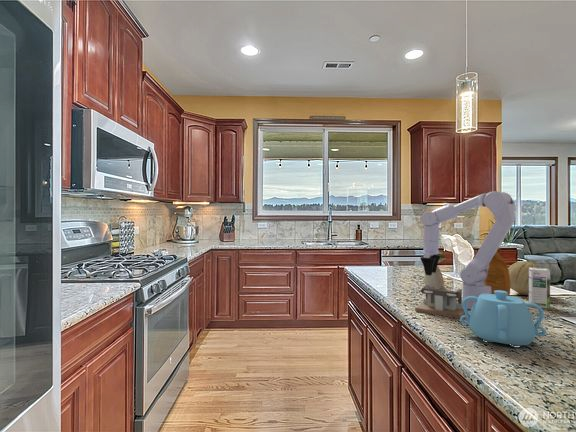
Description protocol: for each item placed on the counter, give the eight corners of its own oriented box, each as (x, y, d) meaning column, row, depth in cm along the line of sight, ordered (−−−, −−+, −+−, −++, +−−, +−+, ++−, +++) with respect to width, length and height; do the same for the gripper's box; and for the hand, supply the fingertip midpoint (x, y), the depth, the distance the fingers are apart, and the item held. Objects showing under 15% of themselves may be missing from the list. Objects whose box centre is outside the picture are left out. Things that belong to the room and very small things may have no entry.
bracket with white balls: (458, 308, 111) (458, 293, 111) (421, 302, 118) (421, 288, 118) (461, 303, 118) (461, 289, 118) (426, 298, 125) (426, 284, 125)
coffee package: (510, 299, 135) (510, 246, 135) (510, 306, 125) (511, 248, 125) (482, 295, 141) (482, 244, 141) (480, 302, 130) (480, 247, 130)
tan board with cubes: (461, 318, 109) (462, 300, 109) (415, 310, 118) (415, 293, 118) (466, 310, 119) (467, 293, 119) (423, 303, 128) (423, 287, 128)
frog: (441, 296, 139) (441, 253, 139) (414, 290, 150) (414, 250, 150) (456, 293, 146) (456, 251, 146) (429, 287, 156) (430, 249, 156)
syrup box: (531, 306, 124) (531, 268, 124) (528, 303, 129) (528, 266, 129) (550, 309, 122) (550, 270, 121) (546, 305, 127) (546, 267, 127)
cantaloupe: (498, 292, 147) (498, 259, 147) (518, 289, 153) (518, 257, 153) (534, 300, 133) (534, 263, 133) (554, 297, 140) (555, 261, 140)
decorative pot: (504, 328, 101) (504, 284, 101) (553, 349, 85) (553, 297, 85) (455, 330, 99) (455, 285, 99) (496, 352, 83) (496, 299, 83)
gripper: (425, 239, 143) (424, 270, 143) (416, 241, 131) (415, 275, 132) (442, 240, 139) (442, 272, 139) (435, 242, 127) (434, 277, 127)
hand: (430, 273), depth 135 cm, fingers open, 7 cm apart
